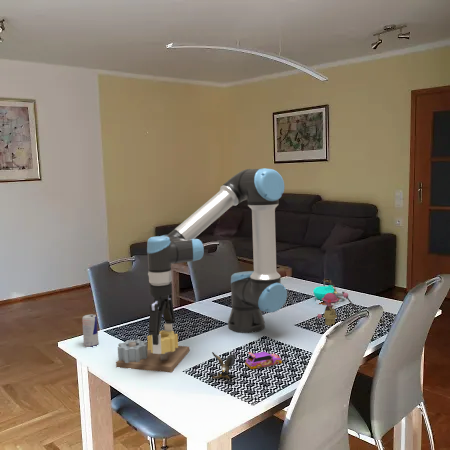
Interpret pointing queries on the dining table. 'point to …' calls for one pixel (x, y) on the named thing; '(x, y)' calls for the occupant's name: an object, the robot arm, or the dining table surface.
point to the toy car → (262, 360)
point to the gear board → (157, 360)
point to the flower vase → (331, 307)
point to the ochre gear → (165, 341)
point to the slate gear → (132, 351)
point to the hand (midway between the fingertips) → (163, 347)
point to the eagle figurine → (225, 365)
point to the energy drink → (90, 330)
